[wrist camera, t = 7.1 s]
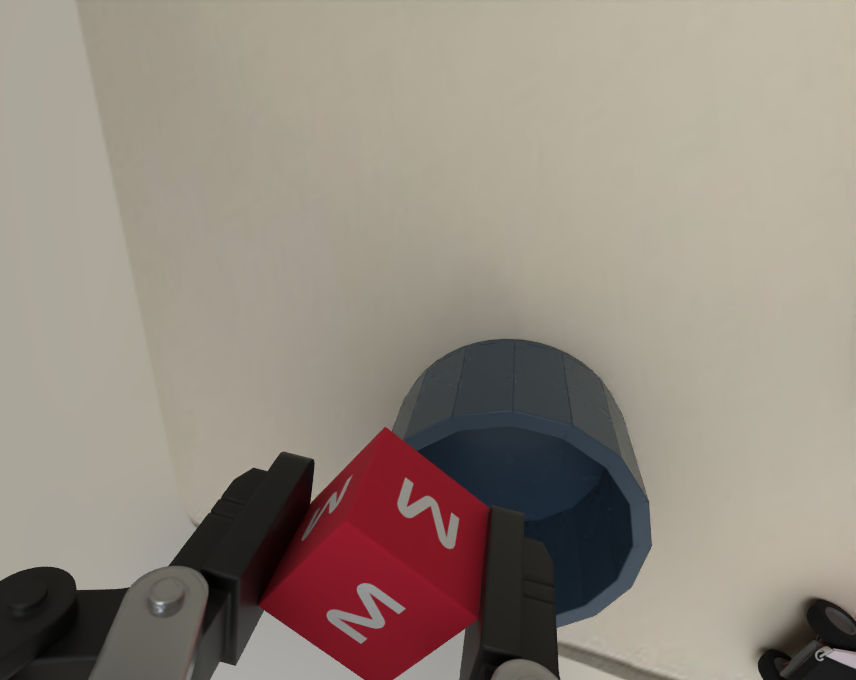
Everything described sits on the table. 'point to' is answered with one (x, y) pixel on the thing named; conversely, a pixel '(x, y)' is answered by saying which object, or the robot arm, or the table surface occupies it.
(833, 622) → the toy car
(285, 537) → the robot arm
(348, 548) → the dice
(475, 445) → the tin
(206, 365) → the table surface
